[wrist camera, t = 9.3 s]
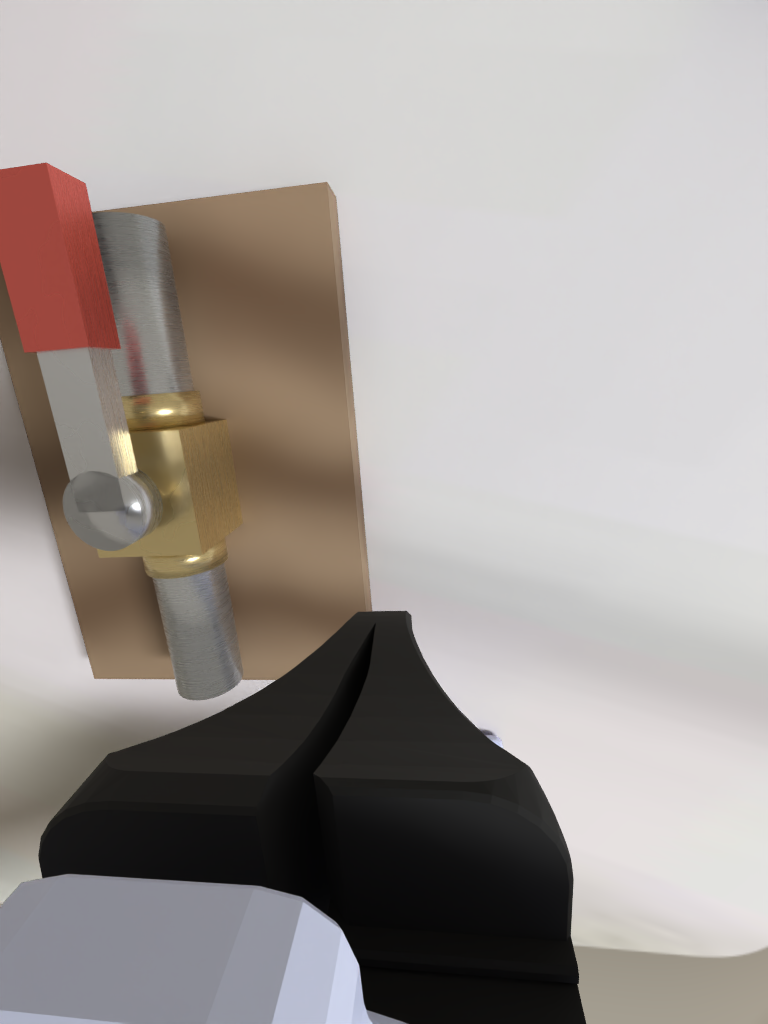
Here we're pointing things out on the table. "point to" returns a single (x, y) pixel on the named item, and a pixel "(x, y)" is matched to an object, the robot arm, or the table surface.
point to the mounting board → (239, 434)
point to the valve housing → (173, 458)
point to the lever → (74, 350)
